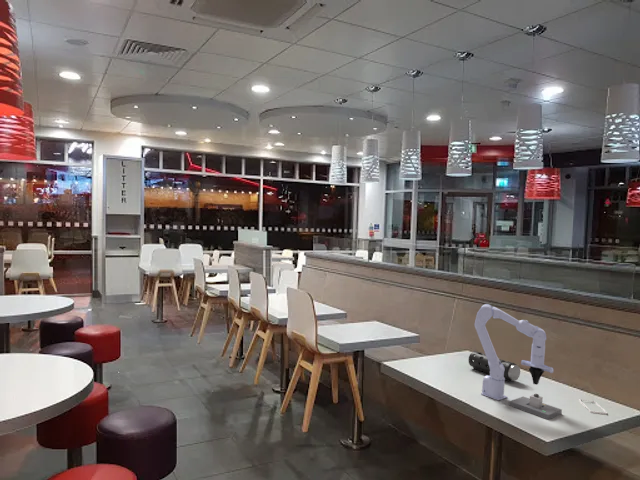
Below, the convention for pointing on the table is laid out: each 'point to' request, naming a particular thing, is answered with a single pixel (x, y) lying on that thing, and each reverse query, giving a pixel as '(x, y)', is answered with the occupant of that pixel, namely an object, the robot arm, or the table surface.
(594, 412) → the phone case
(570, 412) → the table surface
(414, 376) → the table surface
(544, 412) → the charging plate
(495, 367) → the robot arm
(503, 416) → the table surface
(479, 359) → the muzzle brake
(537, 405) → the charger plug
